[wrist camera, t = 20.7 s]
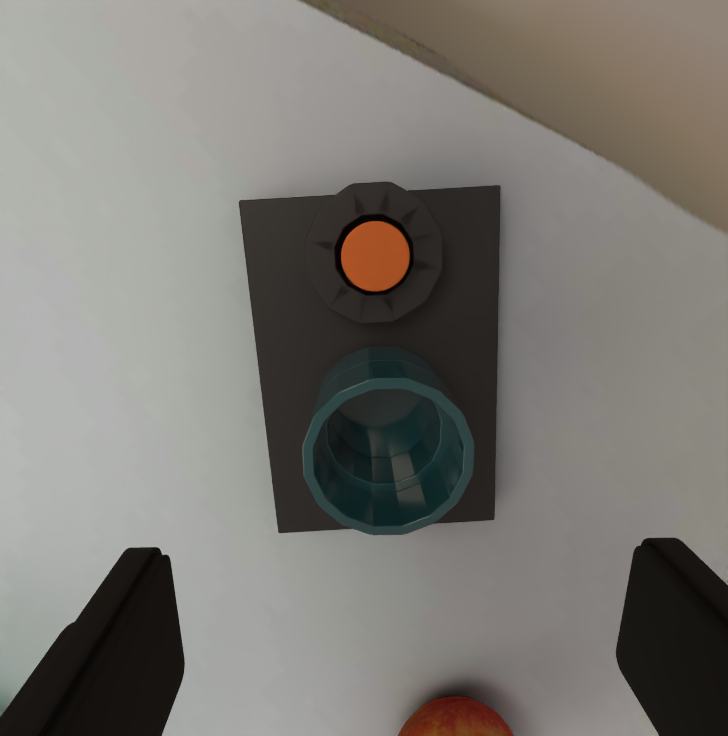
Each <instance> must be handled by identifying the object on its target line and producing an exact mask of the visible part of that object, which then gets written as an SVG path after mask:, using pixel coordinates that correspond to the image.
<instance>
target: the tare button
mask: <svg viewBox="0 0 728 736" xmlns="http://www.w3.org/2000/svg"><path fill="white" fill-rule="evenodd" d="M409 261H410V251H409V246H408V243H407V241H406V239H405V237H404V236H403V234H402V233H401V232H400V231H399V230H398V229H397V228H396V227H394V226H392V225H391V224H388V223H386V222H381V221H370V222H366V223H363V224H361V225H359V226H357V227H356V228H354V229H353V230H352V231H351V232H350V233H349V235H348V236H347V237H346V239H345V241H344V244H343V247H342V251H341V262H342V266H343V269H344V272H345V274H346V275H347V277H348V278H349V280H350V281H351V282H352V283H353V284H355V285H356V286H358V287H359V288H361V289H364V290H367V291H383V290H387V289H389V288H391V287H393V286H394V285H396V284H397V283H398V282H399V281H400V280H401V279H402V278H403V276H404V275H405V273H406V271H407V269H408V266H409Z"/></svg>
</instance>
